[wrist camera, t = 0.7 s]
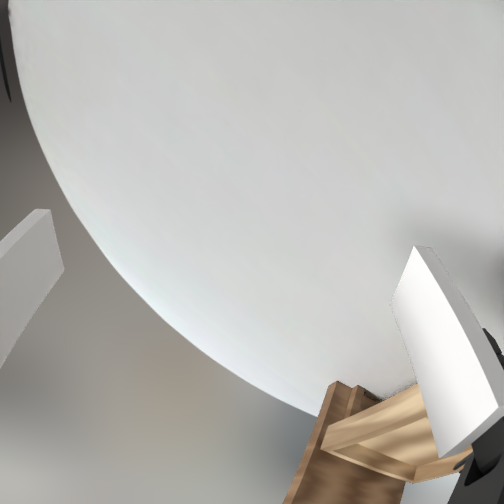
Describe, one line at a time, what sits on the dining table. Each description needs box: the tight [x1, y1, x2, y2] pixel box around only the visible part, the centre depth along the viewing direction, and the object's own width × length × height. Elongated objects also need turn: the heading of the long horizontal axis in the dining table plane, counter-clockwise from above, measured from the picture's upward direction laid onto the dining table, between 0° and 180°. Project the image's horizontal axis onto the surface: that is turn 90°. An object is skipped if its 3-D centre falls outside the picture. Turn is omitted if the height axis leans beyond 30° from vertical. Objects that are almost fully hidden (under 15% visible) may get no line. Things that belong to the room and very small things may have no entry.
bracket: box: [283, 381, 473, 504], centre depth 24 cm, size 15×18×22 cm
